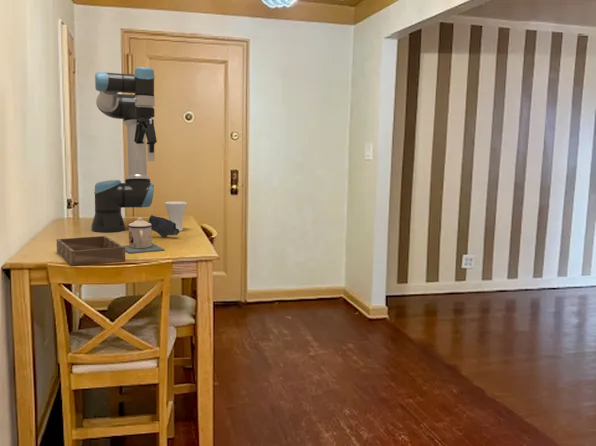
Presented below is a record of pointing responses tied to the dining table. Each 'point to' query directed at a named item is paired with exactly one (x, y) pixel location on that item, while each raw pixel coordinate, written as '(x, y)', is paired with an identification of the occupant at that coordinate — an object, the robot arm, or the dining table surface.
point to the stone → (163, 226)
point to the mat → (143, 249)
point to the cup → (176, 212)
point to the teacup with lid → (140, 234)
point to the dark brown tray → (90, 250)
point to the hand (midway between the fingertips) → (145, 160)
